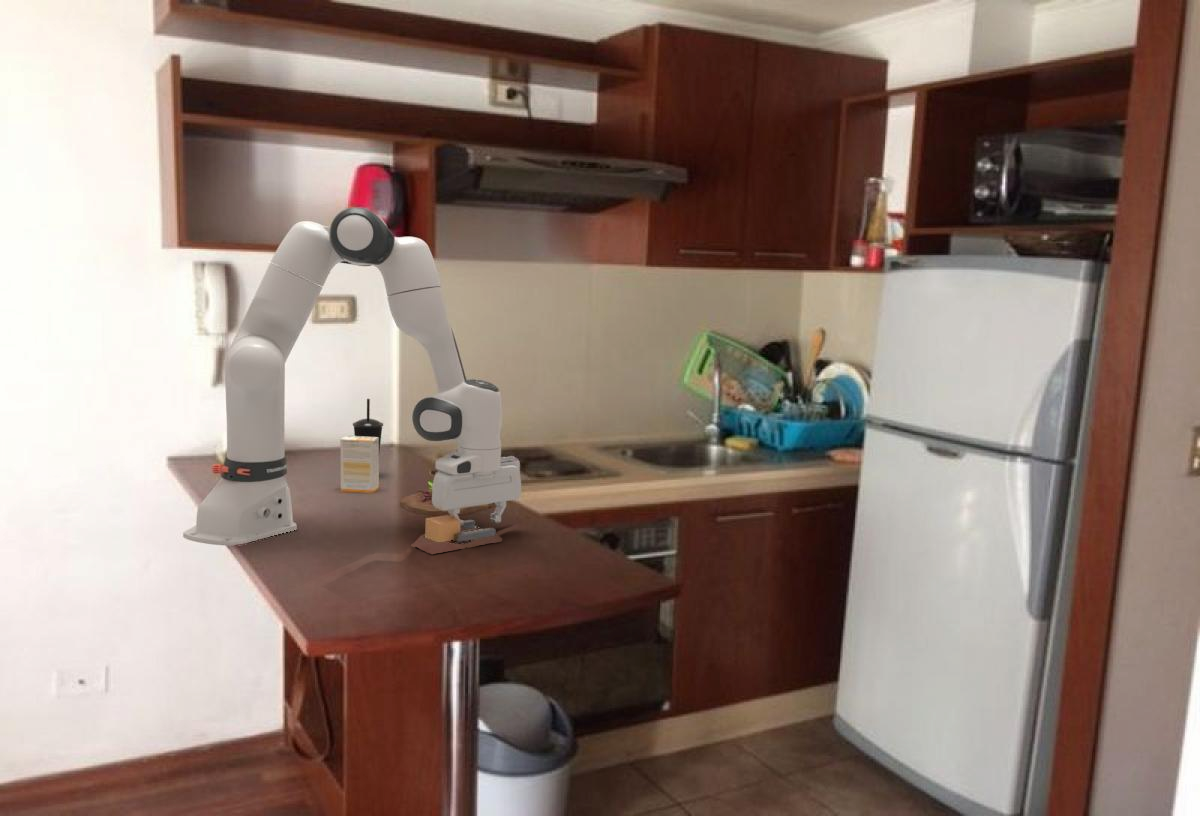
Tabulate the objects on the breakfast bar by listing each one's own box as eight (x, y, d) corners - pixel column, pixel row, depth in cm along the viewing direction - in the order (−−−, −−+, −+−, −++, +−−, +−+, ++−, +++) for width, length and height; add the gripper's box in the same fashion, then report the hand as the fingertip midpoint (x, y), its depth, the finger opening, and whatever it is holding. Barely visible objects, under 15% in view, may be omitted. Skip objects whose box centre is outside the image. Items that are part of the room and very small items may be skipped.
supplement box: (379, 489, 244) (380, 436, 242) (373, 494, 239) (373, 440, 237) (346, 487, 245) (346, 434, 243) (339, 491, 240) (339, 438, 238)
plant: (383, 512, 224) (384, 463, 223) (434, 495, 242) (435, 450, 240) (458, 526, 216) (460, 475, 214) (505, 507, 233) (507, 460, 232)
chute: (471, 529, 212) (472, 517, 212) (502, 541, 204) (502, 529, 204) (402, 541, 201) (402, 529, 201) (431, 555, 193) (432, 542, 193)
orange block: (446, 534, 205) (446, 515, 204) (460, 539, 201) (460, 520, 200) (425, 537, 201) (425, 518, 201) (438, 543, 198) (439, 524, 197)
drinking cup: (388, 475, 259) (390, 399, 256) (367, 480, 253) (368, 402, 250) (367, 471, 263) (368, 395, 260) (345, 475, 257) (346, 398, 254)
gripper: (510, 452, 214) (508, 515, 216) (428, 461, 200) (427, 528, 202) (528, 457, 209) (526, 521, 211) (445, 467, 195) (444, 536, 197)
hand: (477, 525), depth 206 cm, fingers open, 8 cm apart
